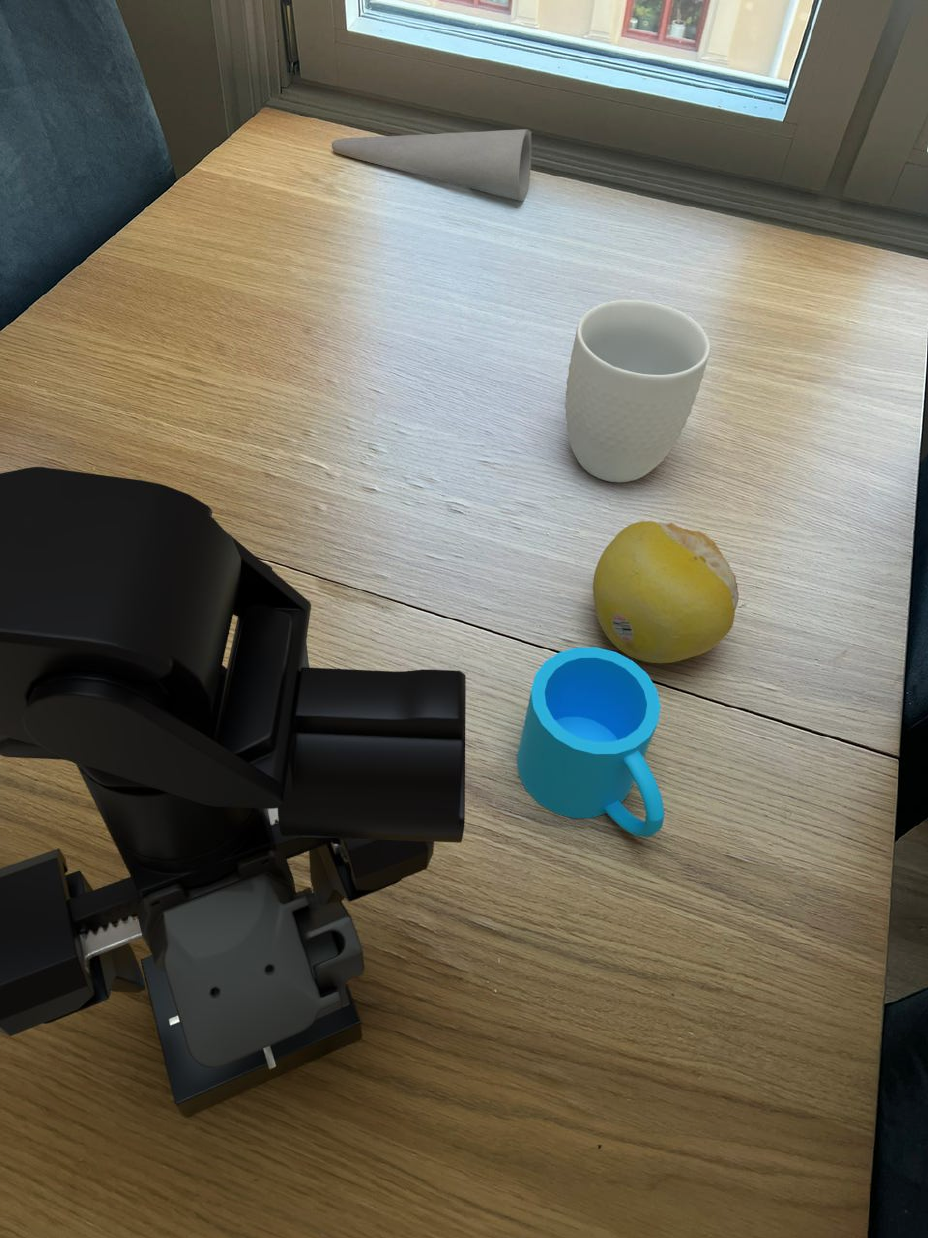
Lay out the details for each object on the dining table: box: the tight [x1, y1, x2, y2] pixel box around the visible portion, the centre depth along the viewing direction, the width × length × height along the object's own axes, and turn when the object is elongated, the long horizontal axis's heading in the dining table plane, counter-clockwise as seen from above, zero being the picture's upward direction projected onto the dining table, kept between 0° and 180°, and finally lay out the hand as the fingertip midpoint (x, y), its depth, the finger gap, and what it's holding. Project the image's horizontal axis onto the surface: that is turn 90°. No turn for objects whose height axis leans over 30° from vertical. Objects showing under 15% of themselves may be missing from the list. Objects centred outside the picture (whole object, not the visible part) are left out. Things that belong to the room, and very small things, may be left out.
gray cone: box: [331, 128, 532, 202], centre depth 116 cm, size 8×9×26 cm
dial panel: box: [140, 891, 363, 1118], centre depth 52 cm, size 10×9×3 cm
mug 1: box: [564, 299, 711, 483], centre depth 82 cm, size 15×11×13 cm
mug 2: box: [516, 646, 665, 838], centre depth 61 cm, size 12×8×8 cm
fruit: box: [592, 520, 740, 664], centre depth 69 cm, size 10×11×10 cm
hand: (233, 944), depth 46 cm, fingers open, 9 cm apart
